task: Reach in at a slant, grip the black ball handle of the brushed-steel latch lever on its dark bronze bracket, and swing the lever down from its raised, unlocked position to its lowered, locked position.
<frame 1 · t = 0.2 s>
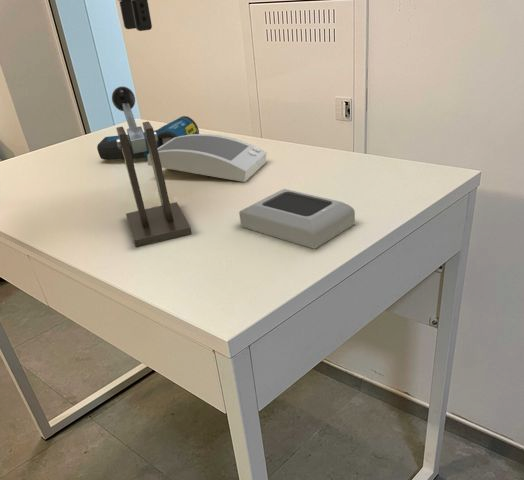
hand: (138, 29, 82), 27 cm above the table, tool pointing down, fingers open, 8 cm apart
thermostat: (209, 171, 110), on the table
latch lever: (129, 118, 85), point 16 cm above the table, hinge at 25.0°
grey flat block: (296, 226, 85), on the table
infrared thermometer: (151, 155, 125), on the table
latch bracket: (158, 226, 91), on the table
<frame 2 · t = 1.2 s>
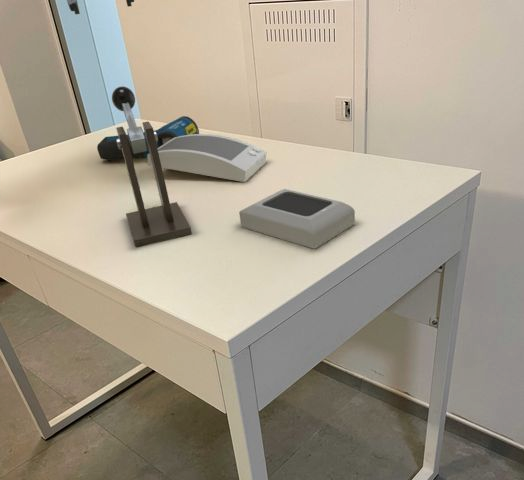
hand: (102, 6, 89), 30 cm above the table, tool tilted 45°, fingers open, 8 cm apart
nothing on the table moved.
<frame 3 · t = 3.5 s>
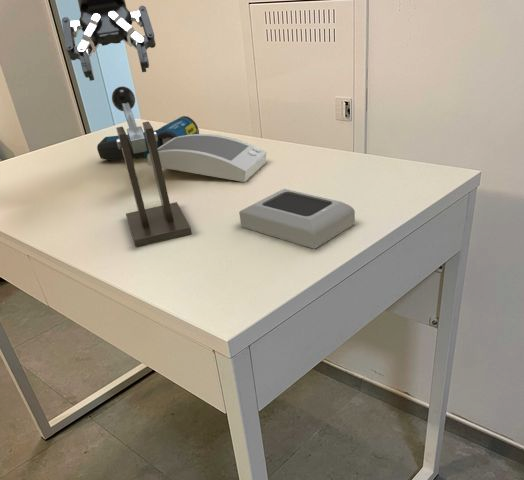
hand: (117, 73, 89), 21 cm above the table, tool tilted 45°, fingers open, 8 cm apart
nothing on the table moved.
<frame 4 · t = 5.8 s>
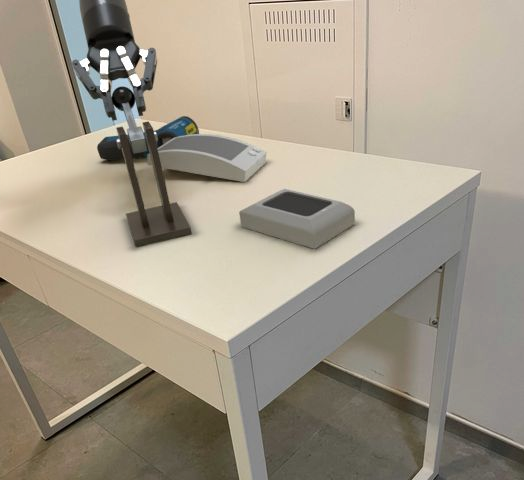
hand: (127, 114, 86), 16 cm above the table, tool tilted 45°, fingers closed on latch lever, 3 cm apart
latch lever: (129, 118, 85), point 16 cm above the table, hinge at 25.0°, touching gripper
everything else where it was.
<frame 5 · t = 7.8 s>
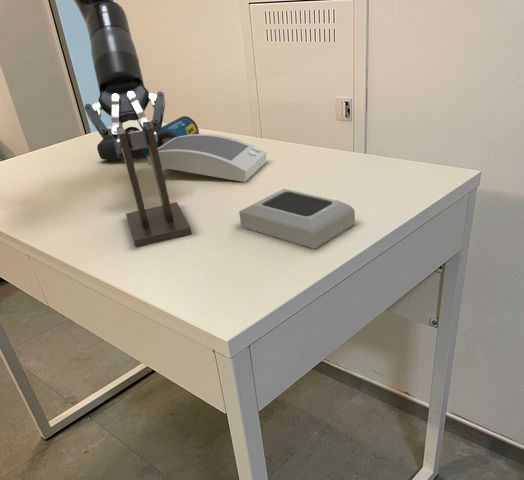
hand: (137, 155, 91), 10 cm above the table, tool tilted 45°, fingers closed on latch lever, 3 cm apart
latch lever: (134, 139, 87), point 13 cm above the table, hinge at -11.8°, touching gripper
everything else where it was.
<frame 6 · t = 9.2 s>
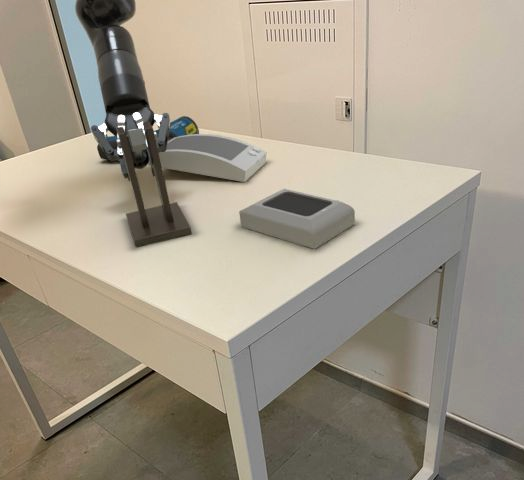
hand: (142, 175, 92), 7 cm above the table, tool tilted 45°, fingers closed on latch lever, 3 cm apart
latch lever: (137, 149, 87), point 11 cm above the table, hinge at -29.9°, touching gripper
everything else where it was.
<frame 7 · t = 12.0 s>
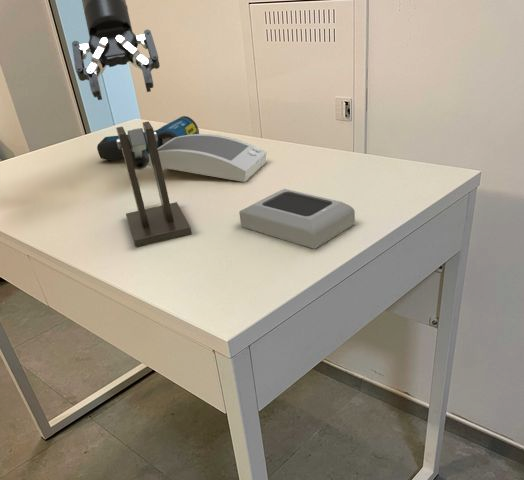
hand: (124, 93, 95), 17 cm above the table, tool tilted 45°, fingers open, 8 cm apart
latch lever: (137, 150, 87), point 11 cm above the table, hinge at -30.5°
everything else where it was.
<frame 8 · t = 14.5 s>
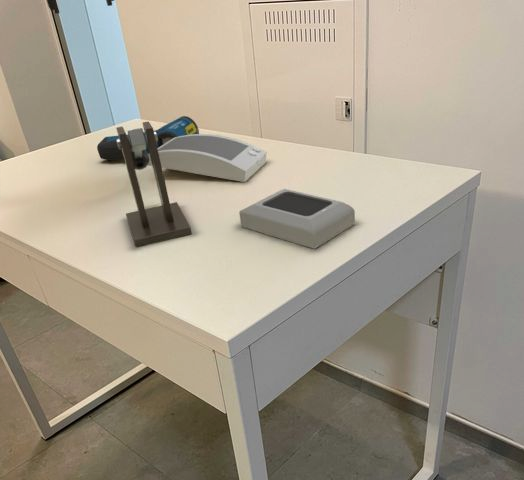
hand: (84, 9, 90), 30 cm above the table, tool pointing down, fingers open, 8 cm apart
nothing on the table moved.
at the end: latch lever at -30° (first picture: +25°); the gripper is holding nothing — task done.
